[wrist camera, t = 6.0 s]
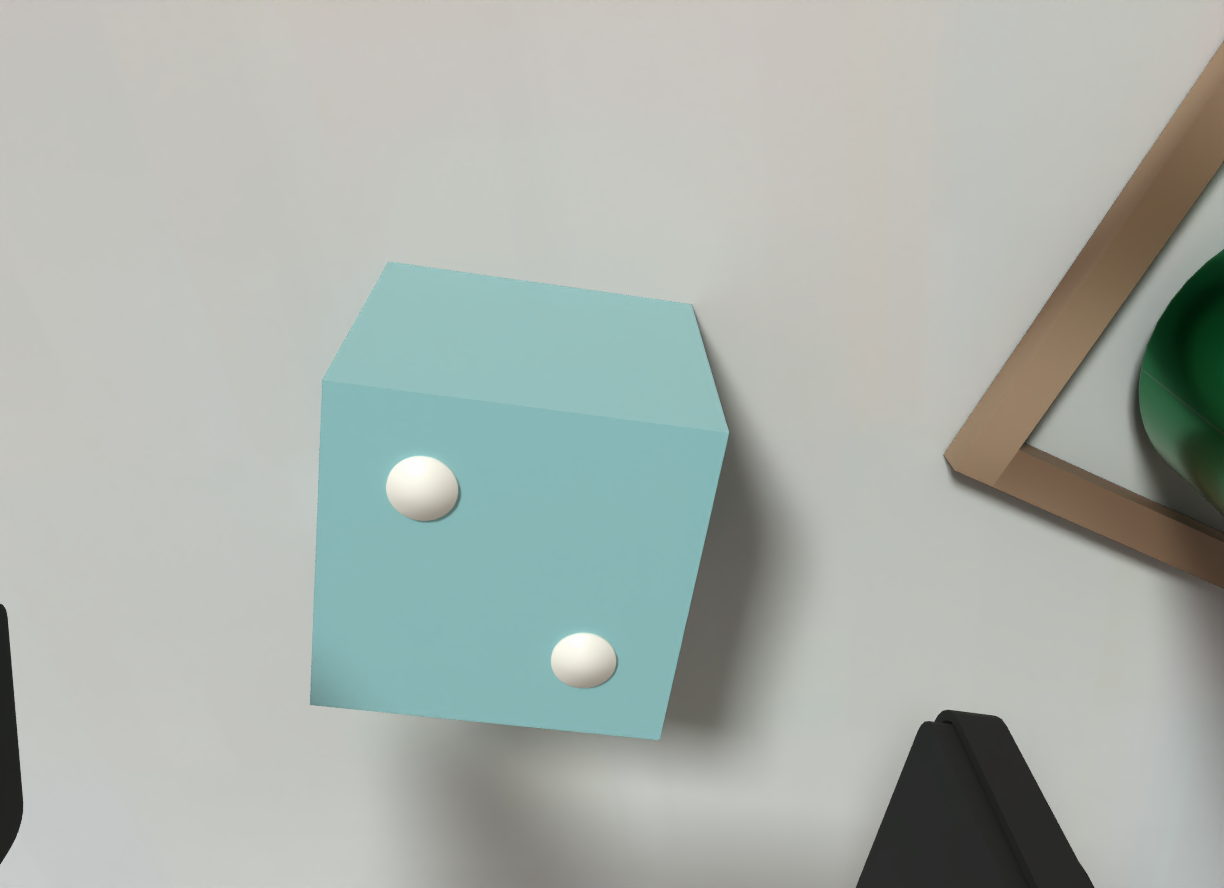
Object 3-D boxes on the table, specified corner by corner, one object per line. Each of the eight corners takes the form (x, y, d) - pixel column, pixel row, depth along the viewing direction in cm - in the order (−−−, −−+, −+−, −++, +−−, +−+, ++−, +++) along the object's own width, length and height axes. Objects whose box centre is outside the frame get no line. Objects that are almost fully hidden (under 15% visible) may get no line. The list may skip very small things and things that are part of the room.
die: (641, 554, 20) (659, 743, 15) (372, 523, 19) (308, 708, 15) (691, 302, 18) (729, 435, 13) (389, 260, 17) (320, 382, 13)
